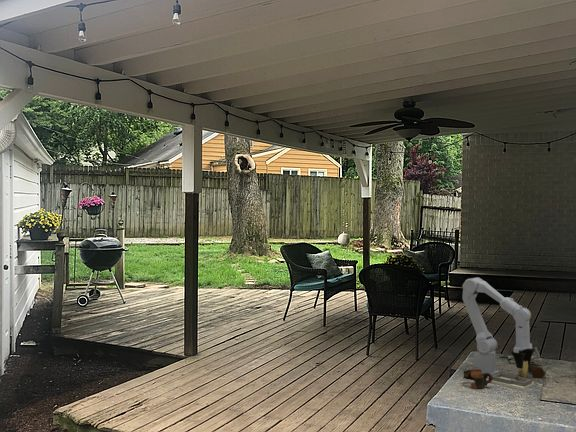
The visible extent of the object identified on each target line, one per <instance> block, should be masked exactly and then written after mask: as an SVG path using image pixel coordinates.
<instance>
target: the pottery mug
mask: <svg viewBox="0 0 576 432" xmlns="http://www.w3.org/2000/svg"><path fill="white" fill-rule="evenodd" d="M487 378H488V380H487ZM462 379H463V380H470V381H473V382H471V383H470V387H471V389H472V390H473V389H474V390H475V389H484V388H485V389H486V387H487V386H488V384H492V383H491V381H492V379H493V377H492V375H491V374H490V373H482V372H481V370H480V369H468V370H465V371H463V378H462Z"/></svg>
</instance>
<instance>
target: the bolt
mask: <svg viewBox="0 0 576 432" xmlns="http://www.w3.org/2000/svg"><path fill="white" fill-rule="evenodd" d="M528 373H530V374H531V375H532V377H534V379H544V377H545V375H546V372H545V370H544V368H543V367H542V366H538V365H537V362H535V363H530V365H528Z"/></svg>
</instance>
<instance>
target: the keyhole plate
mask: <svg viewBox="0 0 576 432" xmlns="http://www.w3.org/2000/svg"><path fill="white" fill-rule="evenodd" d="M492 377H493V379H492V381H491V383H490V384H493V385H494V384H495V385H498V386H502V387H503V386H504V387H508V388H513V389H517V390H521V391H524V390H525V389H527V388H529V387H530V388H531V386H534V385H535V382H534V381H533V379H532V378H531V379H530V378H528V379H527V378H522V377H520V376H518V375H515V374H509V373H505V372H498V373H496V374H493V375H492Z"/></svg>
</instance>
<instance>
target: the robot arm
mask: <svg viewBox="0 0 576 432" xmlns="http://www.w3.org/2000/svg"><path fill="white" fill-rule="evenodd" d="M461 286H462V298H461V299H462V301H463V304H464V306H465V309H466V312H467V313H468V317H469V318H470V321H471V323H472V326H473V328H474V331H475V334H476V337H475V341H476V348H477V350H478V351H475V352H474V353H473V358H472V360H473V361H472V365H473V366H472V367H473V369H480V370H481V372H482V373H490V374H491V375H495V374H497V373H500V370H497V369H496V368H497V365H496V364H497V363H496V361H497V359H496V358H497V357H496V356H497V355H496V349H497V348H498V342H497V340H496V338H494V337H493V334H492V333H491V332H490V331H489V330H488V328H487V325H486V323H485V320H484V318H483V315H482V313H481V310H480V308H479V306H478V302H477V301H476V298H477V296H478V294H479V293H484V294H486V295H487V296H489V297H491V298H492V299H493V300H495V301H496V302H497V303H499V306H500V307H501V309H503V310H504V311H505V312H507V313H508V314H510V315H511V316H512V317H513V319H514V321H515V345H514V347H513V350H511V352H510V354H511V356H513V357H514V358H513V359H514V361H515V362H516V363H515V365H516V368H517V369H518V368H521V369H522V367H523V360H527V361H528V365H530V361H531V357H532V355H533V353H534V352H535V348H533V343H532V342H531V341H530V340H531V339H530V338H531V337H530V335H531V332H530V331H531V329H530V319H531V318H532V317H531V316H532V313H531V311H530V310H529V309H528V308H527V307H523V305H521V304H520V305H519V304H518V303H517V301H515V300H514V298H512V297H508V296H507V297H504V296H503V295H502V294H501V293H500V292H498V290H496V289H495V288H494V287H493V286H491V285H490V284H489V283H488V282H487V281H485V280H483V279H482V278H480V277H479V276H478V277H477V276H476V277H471V278H467V279H465V281H464V282H463V284H462V285H461Z"/></svg>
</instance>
